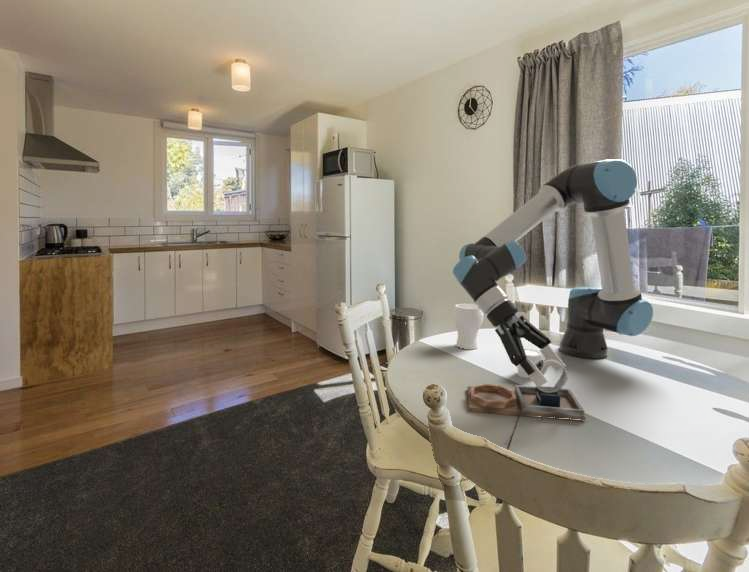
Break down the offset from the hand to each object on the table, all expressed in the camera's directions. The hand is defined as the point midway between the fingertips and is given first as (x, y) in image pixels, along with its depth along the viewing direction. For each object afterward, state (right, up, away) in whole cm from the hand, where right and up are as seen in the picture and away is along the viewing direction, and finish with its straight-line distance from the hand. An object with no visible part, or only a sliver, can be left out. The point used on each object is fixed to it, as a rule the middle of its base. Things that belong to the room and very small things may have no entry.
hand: (552, 376), depth 101 cm
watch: (-1, -7, +2) cm, 7 cm away
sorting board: (-7, -8, +3) cm, 11 cm away
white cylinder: (+2, -5, +23) cm, 24 cm away
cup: (-10, 0, +51) cm, 51 cm away
